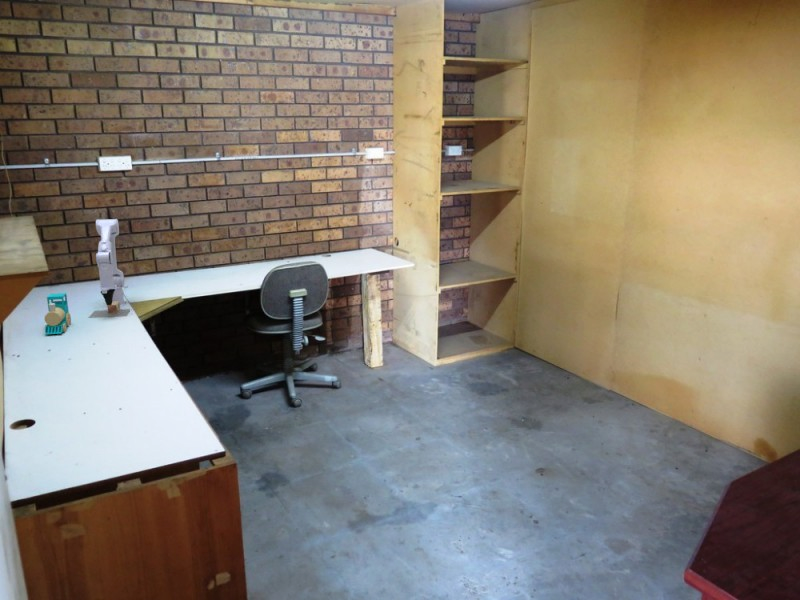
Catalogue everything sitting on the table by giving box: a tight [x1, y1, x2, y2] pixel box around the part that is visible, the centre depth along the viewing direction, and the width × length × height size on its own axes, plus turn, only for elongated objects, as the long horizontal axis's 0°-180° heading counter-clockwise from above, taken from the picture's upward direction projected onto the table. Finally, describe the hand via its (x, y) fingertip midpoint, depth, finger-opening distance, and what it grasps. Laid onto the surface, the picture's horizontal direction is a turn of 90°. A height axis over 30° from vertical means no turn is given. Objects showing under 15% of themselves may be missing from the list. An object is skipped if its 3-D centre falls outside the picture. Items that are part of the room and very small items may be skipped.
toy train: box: [44, 292, 72, 335], centre depth 273 cm, size 8×17×15 cm, turn 16°
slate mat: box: [87, 308, 131, 319], centre depth 300 cm, size 13×17×1 cm
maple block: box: [107, 301, 121, 313], centre depth 303 cm, size 4×4×8 cm
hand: (109, 304), depth 294 cm, fingers closed
